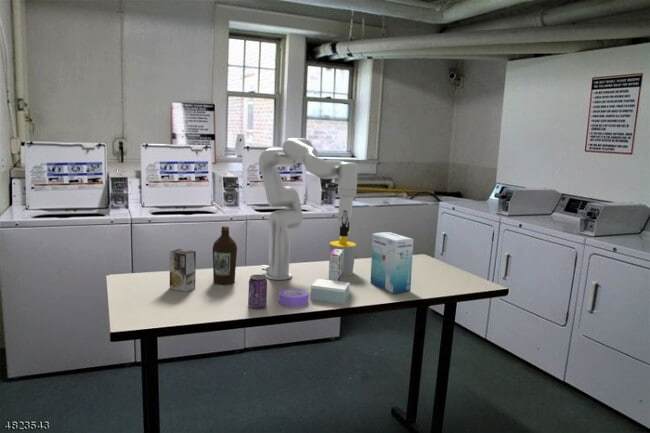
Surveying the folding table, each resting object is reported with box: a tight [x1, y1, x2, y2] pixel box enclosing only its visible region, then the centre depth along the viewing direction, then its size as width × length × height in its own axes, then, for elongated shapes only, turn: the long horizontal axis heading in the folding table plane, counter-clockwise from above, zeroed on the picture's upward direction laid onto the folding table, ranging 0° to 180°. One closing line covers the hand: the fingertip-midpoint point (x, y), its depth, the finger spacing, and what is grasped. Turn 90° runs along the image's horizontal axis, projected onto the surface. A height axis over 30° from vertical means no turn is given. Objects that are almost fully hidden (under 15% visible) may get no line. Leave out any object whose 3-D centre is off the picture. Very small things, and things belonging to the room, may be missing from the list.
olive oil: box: [212, 225, 238, 286], centre depth 225 cm, size 11×11×25 cm
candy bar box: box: [328, 249, 344, 282], centre depth 227 cm, size 11×5×16 cm, turn 168°
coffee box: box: [168, 248, 197, 293], centre depth 214 cm, size 9×6×16 cm
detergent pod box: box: [310, 278, 351, 305], centre depth 213 cm, size 14×10×6 cm
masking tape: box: [278, 288, 309, 307], centre depth 206 cm, size 12×12×4 cm
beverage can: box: [247, 274, 268, 310], centre depth 197 cm, size 7×7×12 cm
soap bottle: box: [329, 230, 357, 277], centre depth 251 cm, size 13×13×21 cm
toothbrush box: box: [370, 231, 414, 294], centre depth 231 cm, size 18×10×24 cm, turn 30°
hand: (344, 233), depth 211 cm, fingers open, 9 cm apart
